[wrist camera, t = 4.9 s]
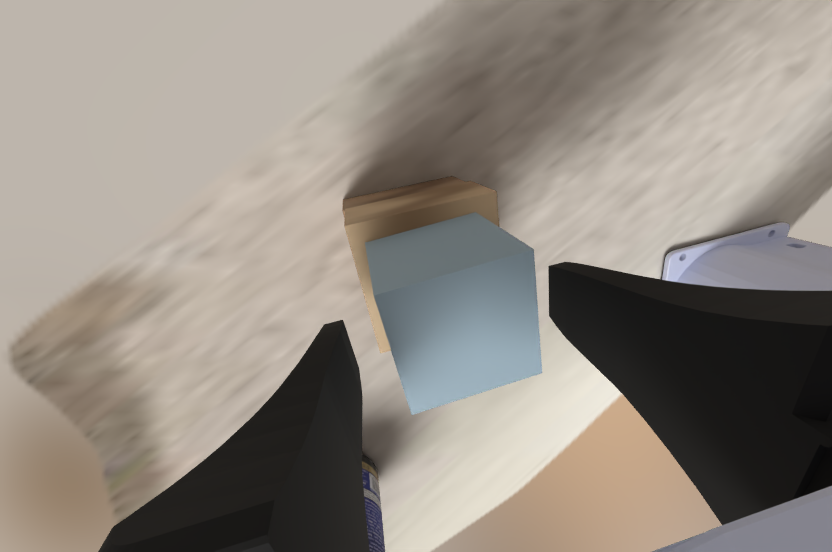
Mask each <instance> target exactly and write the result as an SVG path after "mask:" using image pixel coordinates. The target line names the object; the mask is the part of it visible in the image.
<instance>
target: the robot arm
mask: <svg viewBox="0 0 832 552" xmlns="http://www.w3.org/2000/svg"><path fill="white" fill-rule="evenodd" d="M789 229H790V226H789V224H788V223H784V222H779V223H775V224H772V225H768V226H764V227H760V228H757V229H753V230H749V231H745V232H742V233H738V234H734V235H730V236H726V237H723V238H719V239H715V240H711V241H708V242H704V243H700V244H696V245H693V246H689V247H685V248H681V249H678V250H674V251H671V252H669V253H668V254H667V256H666V258H665V264H664V270H663V277H662V280H660V279H654V278H649V277H643V276H638V275H633V274H628V273H623V272H618V271H613V270H609V269H604V268H599V267H594V266H589V265H584V264H578V263H571V262H563V263H559V264H555V265H551V266H549V316H550V318H551V319H552V320H553V322H554V323H555V325H556V326H557V327H558V329H559V330H560V331H561V332H562V334H563V335H564V336H565V337H566V338H567V339H568V340H569V342H570V343H571V344H572V345H573V346H574V347H576V348H577V349H578V350H579V351H580V352H581V353H582V354H583V355H584V356H585V357H586V358H587V359H588V360H589V361H590V362H591V363H592V364H593V365H594V366H595V367H596V368H597V369H598V370H599V371H600V372H601V373H602V374H603V375H604V376H605V377H606V378H607V379H608V380H609V381H611V382H612V383H613V384H614V385H615V386H616V388H617V389H618V390H619V391H620V392H621V393H622V394H623V395H624V396H625V397H626V398H627V400H628V401H629V402H630V403H631V404H632V405H633V406H634V408H635V409H636V410H637V411H638V413H639V414H640V415H641V416H642V417H643V418H644V420H645V421H646V422H647V423H648V425H649V426H650V427H651V428H652V429H653V431H654V432H655V433H656V435H657V436H658V437H659V438H660V440H661V441H662V442H663V444H664V445H665V446H666V447H667V449H668V450H669V451H670V452H671V454H672V455H673V457H674V458H675V459H676V461H677V462H678V463H679V465H680V466H681V467H682V469H683V470H684V471H685V473H686V474H687V475H688V477H689V478H690V479H691V481H692V482H693V483H694V485H695V486H696V487H697V489H698V490H699V492H700V493H701V495H702V496H703V498H704V499H705V500H706V502H707V503H708V505H709V506H710V508H711V509H712V511H713V512H714V514H715V515H716V517H717V518H718V519H719V521H720V522H721V524H722V526H719V527H716V528H714V529H711V530H709V531H707V532H705V533H702V534H699V535H696V536H694V537H691V538H688V539H685V540H683V541H680V542H677V543H674V544H671V545H669V546H666V547H663V548H660V549H658V550H655V551H652V552H832V247H829V246H824V245H820V244H816V243H812V242H808V241H803V240H799V239H795V238H791V237H787V235H788V232H789ZM98 552H370V549H369V539H368V530H367V520H366V510H365V499H364V488H363V477H362V389H361V380H360V372H359V367H358V364H357V361H356V358H355V355H354V352H353V349H352V346H351V343H350V340H349V337H348V334H347V331H346V328H345V325H344V322H343V320H340V321H336V322H332V323H328V324H325V325H324V326H323V327H322V329H321V330H320V332H319V333H318V335H317V336H316V338H315V339H314V341H313V342H312V344H311V345H310V347H309V348H308V350H307V351H306V353H305V354H304V356H303V357H302V359H301V360H300V361H299V363H298V364H297V365H296V367H295V368H294V369H293V371H292V372H291V373H290V375H289V376H288V377H287V378H286V380H285V381H284V382H283V384H282V385H281V386H280V387H279V389H278V390H277V391H276V392H275V393H274V394H273V395H272V397H271V398H270V399H269V400H268V401H267V402H266V403H265V404H264V405H263V406H262V407H261V408H260V410H259V411H258V412H257V413H256V414H255V415H254V416H253V417H252V418H251V419H250V420H249V421H247V422H246V423H245V424H244V425H243V426H242V427H241V428H240V429H239V430H238V431H237V432H236V433H235V434H234V435H232V436H231V437H230V438H229V439H228V440H227V441H226V442H225V443H224V444H223V445H222V446H220V447H219V448H218V449H217V450H216V451H214V452H213V453H212V454H211V455H210V456H209V457H207V458H206V459H205V460H204V461H203V462H201V463H200V464H199V465H197V466H196V467H195V468H194V469H192V470H191V471H190V472H189V473H187V474H186V475H185V476H184V477H182V478H181V479H180V480H178V481H177V482H176V483H174V484H173V485H172V486H170V487H169V488H168V489H166V490H165V491H163V492H162V493H161V494H159V495H158V496H156V497H155V498H154V499H152V500H151V501H149V502H148V503H147V504H145V505H144V506H142V507H141V508H140V509H138V510H137V511H135V512H134V513H133V514H131V515H130V516H128V517H127V518H126V519H124V520H123V521H121V522H120V523H118V524H117V525H115V526H114V527H113V528H112V530H111V531H110V533H109V535H108V536H107V538H106V540H105V541H104V543H103V545H102V546H101V548H100V550H99V551H98Z"/></svg>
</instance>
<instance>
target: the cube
mask: <svg viewBox="0 0 832 552" xmlns="http://www.w3.org/2000/svg"><path fill="white" fill-rule="evenodd" d="M365 247H366V253H367V259H368V265H369V271H370V277H371V283H372V289H373V295H374V298H375V301H376V304H377V308H378V311H379V314H380V317H381V320H382V323H383V326H384V330H385V333H386V336H387V339H388V342H389V345H390V348H391V352H392V355H393V358H394V361H395V364H396V367H397V370H398V374H399V377H400V380H401V383H402V386H403V389H404V392H405V396H406V399H407V402H408V405H409V408H410V411H411V414H412V415H413V414H416V413H420V412H423V411H426V410H429V409H432V408H435V407H438V406H441V405H444V404H448V403H451V402H454V401H457V400H460V399H463V398H466V397H469V396H472V395H475V394H479V393H482V392H485V391H488V390H491V389H494V388H497V387H500V386H503V385H506V384H510V383H513V382H516V381H519V380H522V379H525V378H528V377H531V376H534V375H538V374H541V373H542V364H541V349H540V335H539V320H538V305H537V291H536V276H535V261H534V249H533V248H531V247H529V246H528V245H526V244H525V243H523V242H522V241H520V240H519V239H517V238H515V237H514V236H512V235H511V234H509V233H508V232H506V231H504V230H503V229H501V228H500V227H498V226H497V225H495V224H493V223H492V222H490V221H489V220H487V219H486V218H484V217H483V216H481V215H479V214H478V213H476V212H474V213H471V214H467V215H463V216H460V217H456V218H453V219H449V220H445V221H442V222H438V223H434V224H431V225H427V226H423V227H420V228H416V229H413V230H409V231H405V232H402V233H398V234H394V235H391V236H387V237H384V238H380V239H376V240H373V241H369V242H365Z"/></svg>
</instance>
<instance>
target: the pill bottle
mask: <svg viewBox="0 0 832 552" xmlns="http://www.w3.org/2000/svg"><path fill="white" fill-rule="evenodd" d="M362 477H363V488H364V499H365V510H366V520H367V530H368V539H369V549H370V552H385V546H384V534H383V523H382V513H381V502H380V492H379V482H378V472H377V469H376V467H375V465H374V464H373V463H372V462H371V460H370V459H368V458H367V457H366V456H364V455H362Z"/></svg>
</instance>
